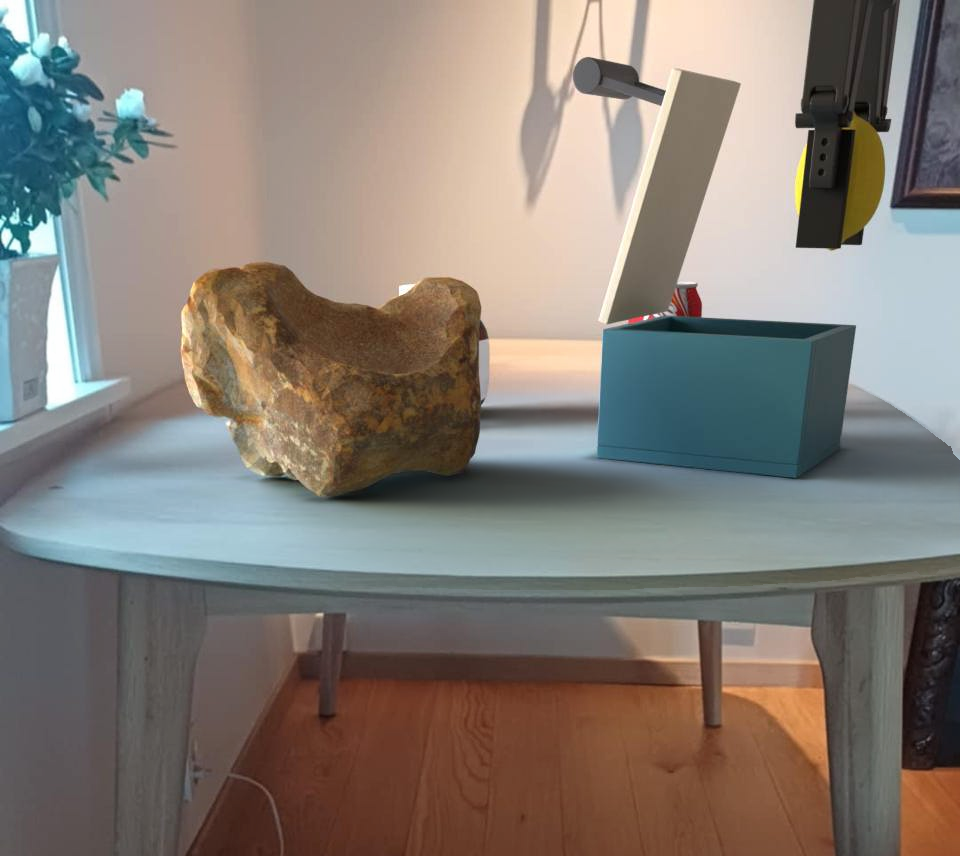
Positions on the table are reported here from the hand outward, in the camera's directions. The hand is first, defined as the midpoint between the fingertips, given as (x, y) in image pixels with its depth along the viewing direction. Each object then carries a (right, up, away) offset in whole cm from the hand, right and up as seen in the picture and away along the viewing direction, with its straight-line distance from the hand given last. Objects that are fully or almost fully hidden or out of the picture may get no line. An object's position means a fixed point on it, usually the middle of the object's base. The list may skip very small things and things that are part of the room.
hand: (829, 245), depth 82 cm
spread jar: (-27, +3, +41) cm, 49 cm away
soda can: (-5, +4, +43) cm, 44 cm away
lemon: (0, -1, 0) cm, 1 cm away
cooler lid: (-7, +12, +18) cm, 23 cm away
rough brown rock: (-33, -11, +14) cm, 37 cm away
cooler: (-2, -6, +25) cm, 26 cm away
